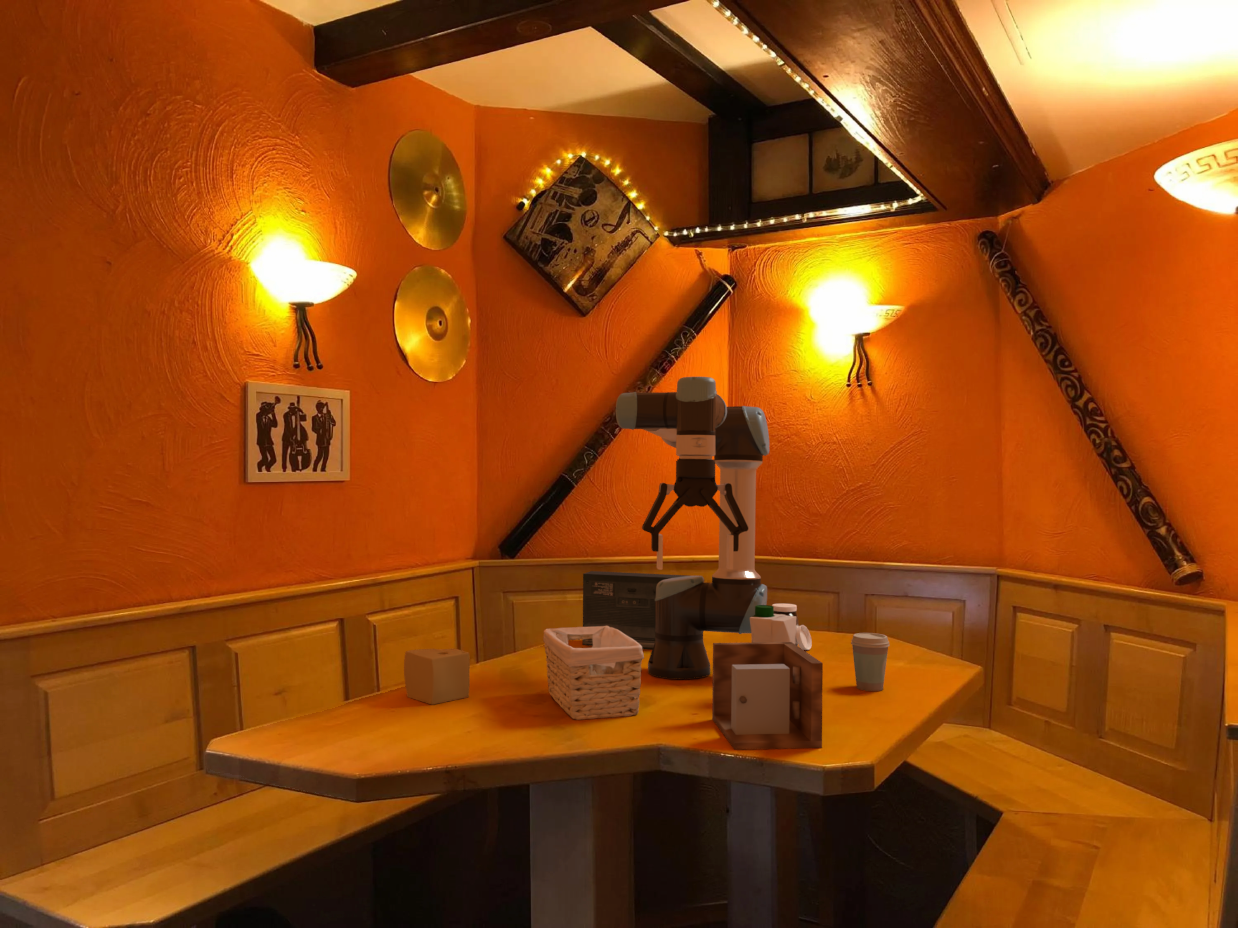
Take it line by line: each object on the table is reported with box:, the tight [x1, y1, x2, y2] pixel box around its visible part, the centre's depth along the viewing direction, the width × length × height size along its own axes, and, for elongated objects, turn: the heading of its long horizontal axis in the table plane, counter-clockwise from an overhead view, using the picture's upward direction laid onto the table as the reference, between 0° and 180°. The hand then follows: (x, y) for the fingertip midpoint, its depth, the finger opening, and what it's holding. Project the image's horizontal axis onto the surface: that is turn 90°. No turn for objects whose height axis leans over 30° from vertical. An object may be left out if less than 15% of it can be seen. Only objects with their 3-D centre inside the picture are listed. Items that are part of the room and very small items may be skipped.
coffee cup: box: [850, 632, 890, 692], centre depth 217 cm, size 9×8×12 cm
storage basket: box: [543, 626, 645, 721], centre depth 200 cm, size 24×16×15 cm
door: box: [731, 664, 790, 735], centre depth 177 cm, size 10×5×12 cm, turn 96°
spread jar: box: [771, 603, 813, 651], centre depth 264 cm, size 12×11×12 cm
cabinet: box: [711, 642, 824, 751], centre depth 180 cm, size 16×20×15 cm
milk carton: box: [750, 604, 796, 644], centre depth 206 cm, size 9×9×20 cm
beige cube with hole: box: [403, 648, 470, 706], centre depth 205 cm, size 10×11×10 cm
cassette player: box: [582, 570, 690, 651], centre depth 265 cm, size 29×7×20 cm, turn 72°
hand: (694, 568), depth 182 cm, fingers open, 13 cm apart
